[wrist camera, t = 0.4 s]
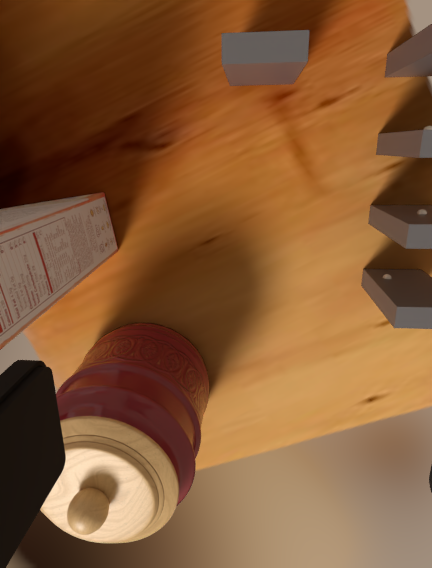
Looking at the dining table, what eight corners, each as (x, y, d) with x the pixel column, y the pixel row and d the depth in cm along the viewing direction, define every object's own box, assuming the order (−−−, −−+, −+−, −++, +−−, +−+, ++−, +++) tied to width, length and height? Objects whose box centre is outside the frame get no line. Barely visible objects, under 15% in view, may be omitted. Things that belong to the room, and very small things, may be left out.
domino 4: (370, 201, 34) (409, 219, 26) (432, 201, 34) (492, 219, 25) (368, 223, 35) (405, 248, 26) (428, 223, 34) (486, 249, 26)
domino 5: (363, 265, 36) (397, 302, 27) (421, 266, 35) (474, 304, 27) (361, 285, 37) (394, 327, 28) (418, 286, 36) (469, 329, 28)
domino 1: (230, 58, 32) (221, 27, 23) (294, 57, 31) (309, 23, 23) (230, 85, 32) (221, 64, 24) (293, 84, 32) (307, 61, 23)
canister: (190, 306, 39) (143, 427, 22) (225, 416, 43) (207, 590, 26) (69, 334, 41) (-56, 463, 24) (113, 436, 45) (30, 608, 28)
